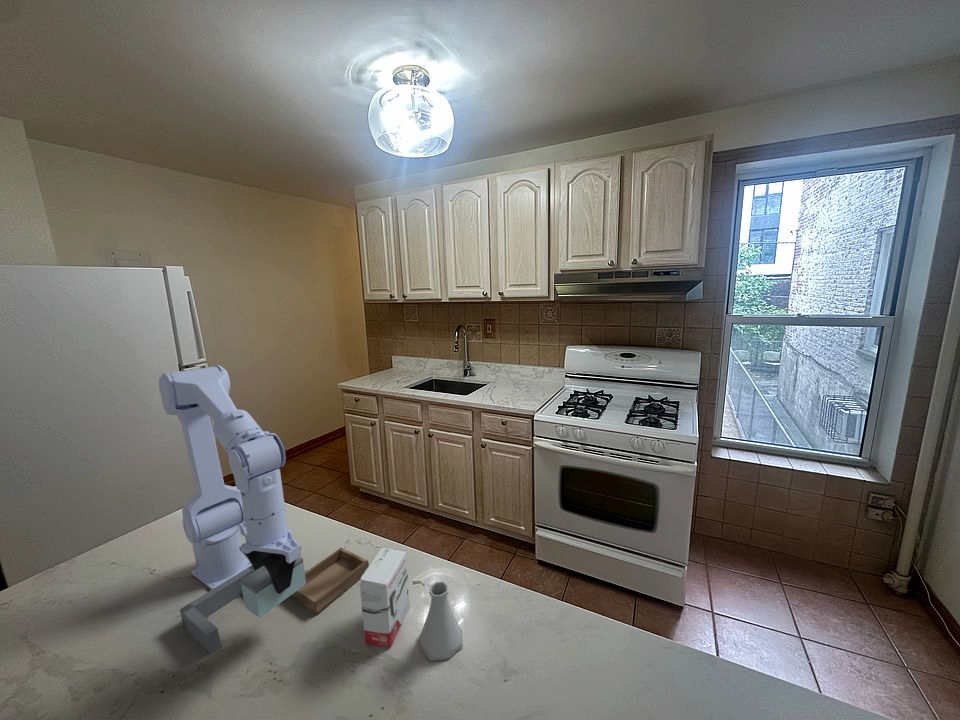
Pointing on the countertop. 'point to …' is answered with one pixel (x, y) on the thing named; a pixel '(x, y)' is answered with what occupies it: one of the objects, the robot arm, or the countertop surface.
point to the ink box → (384, 596)
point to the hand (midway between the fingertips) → (275, 583)
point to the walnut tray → (330, 580)
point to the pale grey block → (269, 589)
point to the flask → (440, 626)
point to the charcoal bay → (211, 610)
